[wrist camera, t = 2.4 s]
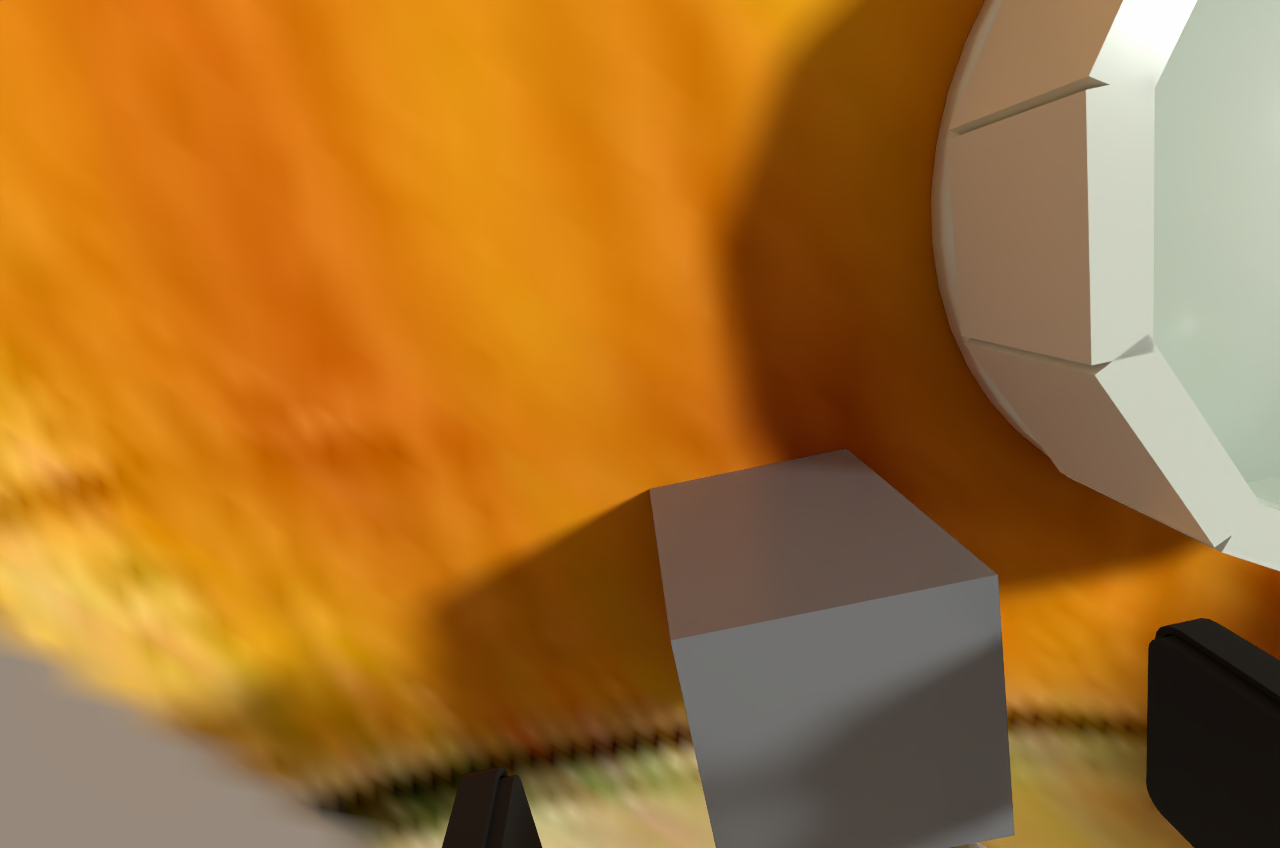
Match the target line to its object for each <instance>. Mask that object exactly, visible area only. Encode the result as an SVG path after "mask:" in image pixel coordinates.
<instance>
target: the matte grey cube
mask: <svg viewBox="0 0 1280 848" xmlns="http://www.w3.org/2000/svg"><path fill="white" fill-rule="evenodd" d="M649 491H650V498H651V505H652V512H653V519H654V526H655V533H656V541H657V548H658V555H659V562H660V569H661V576H662V583H663V591H664V598H665V605H666V612H667V619H668V626H669V633H670V641H671V645H672V650H673V654H674V659H675V663H676V668H677V672H678V677H679V682H680V686H681V691H682V695H683V700H684V704H685V709H686V713H687V718H688V722H689V727H690V732H691V736H692V741H693V745H694V750H695V754H696V759H697V763H698V768H699V773H700V777H701V782H702V786H703V791H704V795H705V800H706V804H707V809H708V813H709V818H710V823H711V827H712V832H713V836H714V841H715V845H716V848H950V847H956V846H961V845H966V844H971V843H976V842H981V841H987V840H992V839H997V838H1002V837H1007V836H1012V835H1014V820H1013V804H1012V788H1011V773H1010V757H1009V741H1008V726H1007V710H1006V694H1005V679H1004V663H1003V647H1002V632H1001V616H1000V600H999V585H998V574H997V573H995V572H994V571H993V570H992V569H991V568H989V567H988V566H987V565H986V564H985V563H983V562H982V561H981V560H980V559H979V558H977V557H976V556H975V555H974V554H973V553H971V552H970V551H969V550H968V549H967V548H965V547H964V546H963V545H962V544H961V543H959V542H958V541H957V540H956V539H955V538H953V537H952V536H951V535H950V534H949V533H947V532H946V531H945V530H944V529H943V528H941V527H940V526H939V525H938V524H937V523H935V522H934V521H933V520H932V519H931V518H929V517H928V516H927V515H926V514H925V513H923V512H922V511H921V510H920V509H919V508H917V507H916V506H915V505H914V504H913V503H911V502H910V501H909V500H908V499H907V498H905V497H904V496H903V495H902V494H901V493H899V492H898V491H897V490H896V489H895V488H893V487H892V486H891V485H890V484H889V483H887V482H886V481H885V480H884V479H883V478H881V477H880V476H879V475H878V474H877V473H875V472H874V471H873V470H872V469H871V468H869V467H868V466H867V465H866V464H865V463H863V462H862V461H861V460H860V459H859V458H857V457H856V456H855V455H854V454H853V453H851V452H850V451H849V450H848V449H842V450H837V451H832V452H827V453H822V454H817V455H812V456H808V457H803V458H798V459H793V460H788V461H783V462H778V463H774V464H769V465H764V466H759V467H754V468H749V469H744V470H739V471H735V472H730V473H725V474H720V475H715V476H710V477H705V478H701V479H696V480H691V481H686V482H681V483H676V484H671V485H666V486H662V487H657V488H652V489H649Z"/></svg>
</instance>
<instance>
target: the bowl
mask: <svg viewBox="0 0 1280 848" xmlns="http://www.w3.org/2000/svg"><path fill="white" fill-rule="evenodd" d="M931 220H932V247H933V253H934V260H935V267H936V274H937V280H938V287H939V291H940V294H941V298H942V301H943V305H944V308H945V312H946V315H947V319H948V322H949V325H950V329H951V331H952V333H953V336H954V338H955V340H956V342H957V345H958V347H959V349H960V351H961V353H962V356H963V358H964V360H965V362H966V365H967V367H968V368H969V370H970V372H971V373H972V375H973V376H974V378H975V379H976V381H977V382H978V384H979V386H980V387H981V389H982V390H983V392H984V393H985V395H986V396H987V398H988V400H989V401H990V402H991V403H992V404H993V405H994V407H995V408H996V409H997V410H998V411H999V412H1000V413H1001V415H1002V416H1003V417H1004V418H1005V419H1006V420H1007V421H1008V422H1009V424H1010V425H1011V426H1012V427H1013V428H1014V429H1015V430H1016V431H1017V432H1018V433H1020V434H1021V435H1022V436H1023V437H1024V438H1026V439H1027V440H1028V441H1029V442H1030V443H1032V444H1033V445H1034V446H1035V447H1036V448H1038V449H1039V450H1040V451H1041V452H1042V453H1044V454H1045V455H1047V456H1049V458H1050V459H1051V460H1052V462H1053V463H1054V464H1055V466H1056V467H1057V468H1058V470H1059V471H1060V473H1062V474H1064V475H1067V476H1066V477H1068V478H1070V479H1072V480H1074V481H1076V482H1078V483H1080V484H1082V485H1085V486H1087V487H1089V488H1091V489H1093V490H1095V491H1097V492H1099V493H1101V494H1103V495H1105V496H1107V497H1109V498H1111V499H1113V500H1115V501H1117V502H1119V503H1122V504H1124V505H1126V506H1128V507H1130V508H1132V509H1134V510H1136V511H1138V512H1140V513H1142V514H1144V515H1146V516H1148V517H1150V518H1152V519H1154V520H1156V521H1158V522H1161V523H1163V524H1165V525H1167V526H1169V527H1171V528H1173V529H1175V530H1177V531H1179V532H1181V533H1183V534H1185V535H1187V536H1189V537H1191V538H1193V539H1195V540H1198V541H1200V542H1202V543H1204V544H1206V545H1208V546H1210V547H1212V548H1214V549H1216V550H1218V551H1220V552H1222V553H1225V554H1229V555H1232V556H1235V557H1238V558H1241V559H1244V560H1247V561H1250V562H1253V563H1256V564H1259V565H1262V566H1265V567H1269V568H1272V569H1275V570H1278V571H1280V0H985V1H984V3H983V5H982V7H981V10H980V12H979V14H978V16H977V18H976V20H975V22H974V24H973V26H972V29H971V31H970V33H969V35H968V37H967V39H966V42H965V44H964V47H963V50H962V53H961V56H960V59H959V62H958V65H957V68H956V70H955V73H954V76H953V79H952V82H951V85H950V88H949V91H948V94H947V99H946V103H945V108H944V112H943V116H942V121H941V125H940V130H939V134H938V139H937V143H936V152H935V161H934V171H933V180H932V190H931Z"/></svg>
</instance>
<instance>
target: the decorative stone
mask: <svg viewBox="0 0 1280 848" xmlns="http://www.w3.org/2000/svg"><path fill="white" fill-rule="evenodd" d="M953 848H987V847H986V846H984V845H983V844H981V843H979V842H976V843H971V844H966V845H961V846H956V847H953Z"/></svg>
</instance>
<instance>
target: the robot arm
mask: <svg viewBox="0 0 1280 848" xmlns="http://www.w3.org/2000/svg"><path fill="white" fill-rule="evenodd" d="M1146 784H1147V790H1148V793H1149V796H1150V798H1151V800H1152V802H1153V803H1154V805H1155V806H1156V808H1157V809H1158V811H1159V812H1160V813H1161V814H1162V815H1163V816H1164V817H1165V818H1166V819H1167V820H1168V821H1169V822H1170V823H1171V824H1172V825H1173V826H1174V827H1175V828H1176V829H1177V830H1178V831H1179V832H1180V833H1181V835H1182V836H1183V837H1184V838H1185V839H1186V840H1187V841H1188V842H1189V843H1190V844H1191V845H1192V846H1193V847H1194V848H1280V661H1279V660H1278V659H1276V658H1274V657H1273V656H1271V655H1269V654H1268V653H1266V652H1264V651H1263V650H1261V649H1260V648H1258V647H1256V646H1255V645H1253V644H1251V643H1250V642H1248V641H1246V640H1245V639H1243V638H1241V637H1240V636H1238V635H1236V634H1235V633H1233V632H1231V631H1230V630H1228V629H1226V628H1225V627H1223V626H1222V625H1220V624H1218V623H1216V622H1214V621H1212V620H1210V619H1203V618H1200V619H1196V620H1191V621H1186V622H1182V623H1177V624H1172V625H1167V626H1164V627H1161V628H1159V630H1158V631H1157V632H1156V637H1155V640H1152V641H1151V642H1150V644H1149V651H1148V713H1147V775H1146ZM442 848H542V845H541V842H540V839H539V836H538V833H537V829H536V826H535V823H534V820H533V817H532V814H531V810H530V807H529V804H528V801H527V798H526V795H525V791H524V788H523V785H522V782H521V779H520V777H519V776H518V775H512V776H508V774H507V772H506V770H505V769H504V767H497V768H492V769H488V770H483V771H478V772H473V773H469V774H464V776H463V777H462V778H461V781H460V783H459V787H458V790H457V794H456V798H455V801H454V805H453V809H452V812H451V816H450V820H449V824H448V827H447V831H446V835H445V838H444V842H443V846H442Z"/></svg>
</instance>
